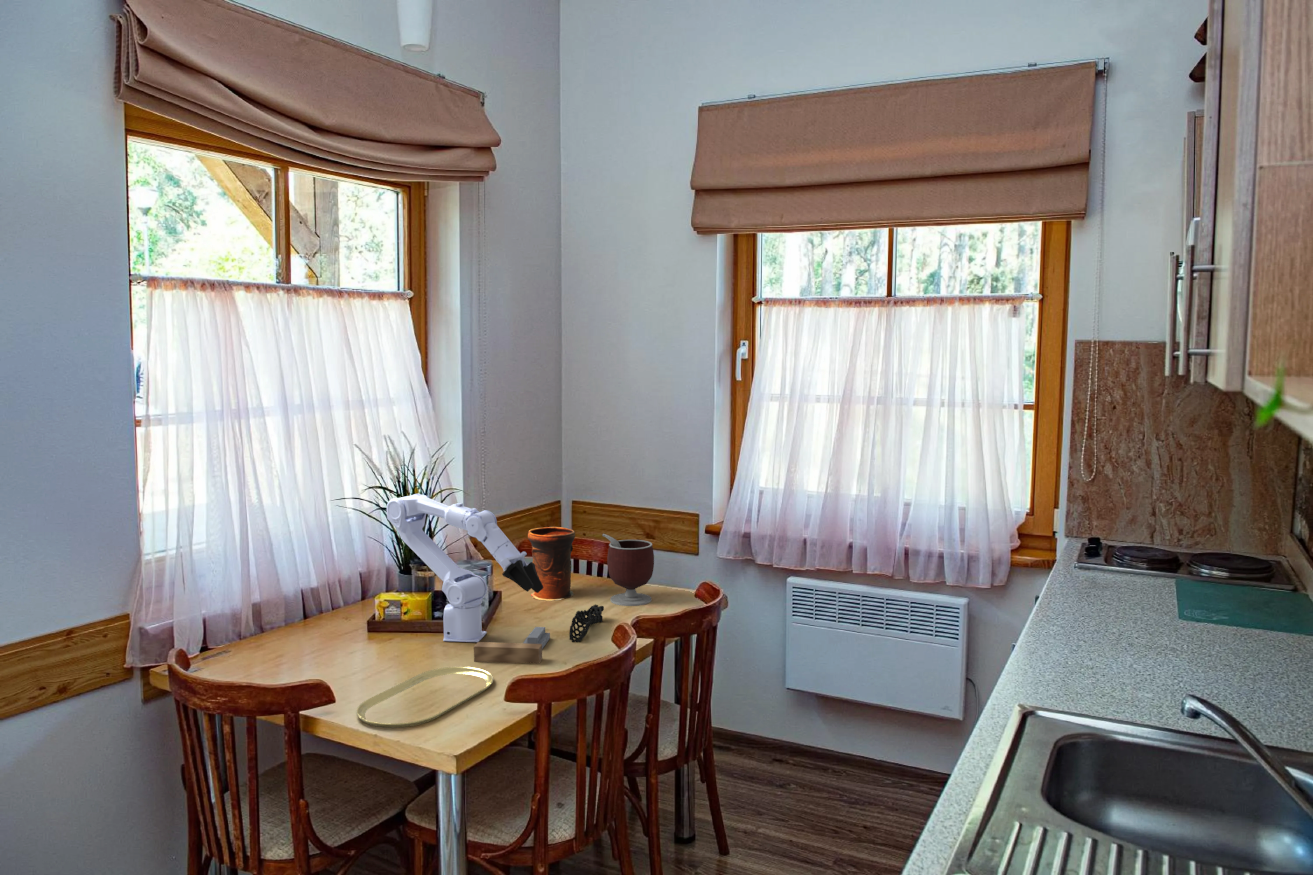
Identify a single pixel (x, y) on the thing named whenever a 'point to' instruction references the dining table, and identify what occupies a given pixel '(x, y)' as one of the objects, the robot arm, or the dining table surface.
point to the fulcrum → (538, 637)
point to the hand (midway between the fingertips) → (535, 589)
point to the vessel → (552, 561)
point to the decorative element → (585, 621)
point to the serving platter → (415, 680)
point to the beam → (507, 652)
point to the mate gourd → (630, 569)
